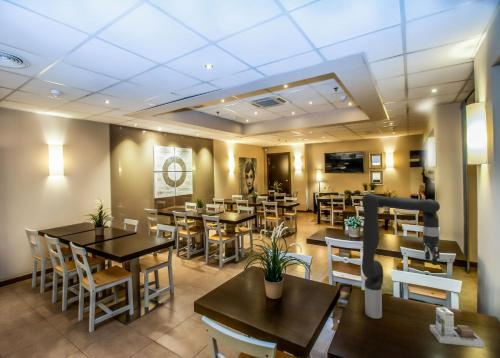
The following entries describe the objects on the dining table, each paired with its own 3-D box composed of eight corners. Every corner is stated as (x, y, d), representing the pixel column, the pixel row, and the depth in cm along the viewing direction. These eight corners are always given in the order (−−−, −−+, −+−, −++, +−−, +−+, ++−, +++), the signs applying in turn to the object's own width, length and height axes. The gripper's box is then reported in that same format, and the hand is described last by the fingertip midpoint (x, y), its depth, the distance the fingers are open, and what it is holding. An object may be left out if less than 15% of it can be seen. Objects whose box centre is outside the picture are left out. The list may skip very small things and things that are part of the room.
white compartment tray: (429, 329, 140) (429, 324, 140) (469, 333, 136) (469, 328, 136) (439, 342, 130) (439, 337, 130) (483, 347, 125) (483, 341, 125)
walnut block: (456, 335, 135) (456, 324, 135) (467, 336, 134) (467, 325, 134) (462, 342, 130) (462, 330, 130) (473, 343, 129) (473, 331, 129)
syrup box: (435, 333, 137) (435, 307, 137) (446, 333, 137) (446, 307, 137) (442, 340, 132) (442, 312, 131) (454, 340, 131) (454, 313, 131)
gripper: (418, 231, 152) (418, 257, 153) (429, 237, 138) (429, 266, 139) (432, 231, 151) (432, 258, 151) (444, 237, 137) (444, 267, 137)
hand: (431, 262), depth 145 cm, fingers open, 8 cm apart
